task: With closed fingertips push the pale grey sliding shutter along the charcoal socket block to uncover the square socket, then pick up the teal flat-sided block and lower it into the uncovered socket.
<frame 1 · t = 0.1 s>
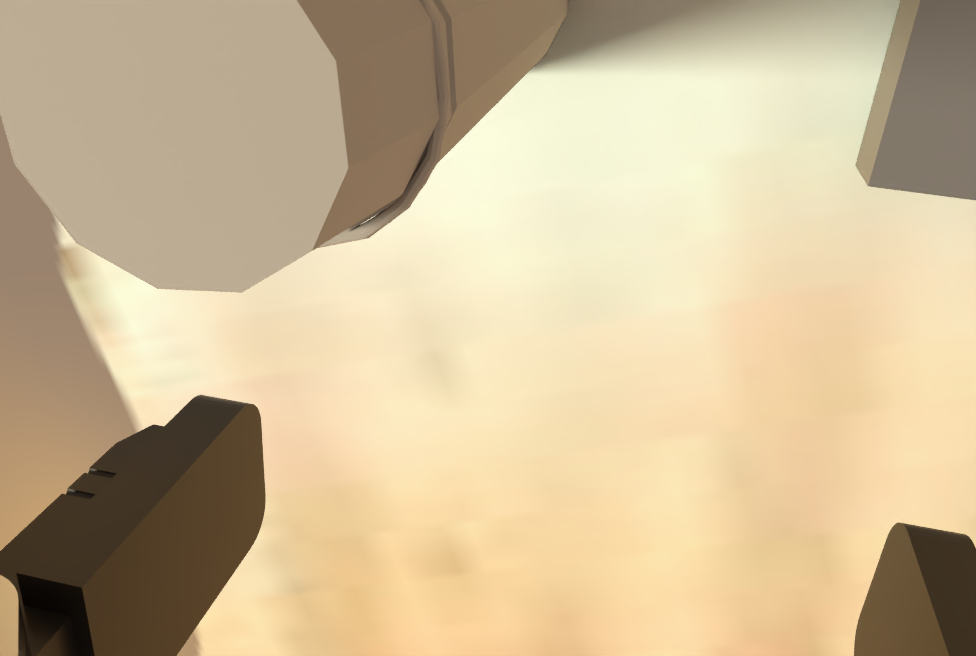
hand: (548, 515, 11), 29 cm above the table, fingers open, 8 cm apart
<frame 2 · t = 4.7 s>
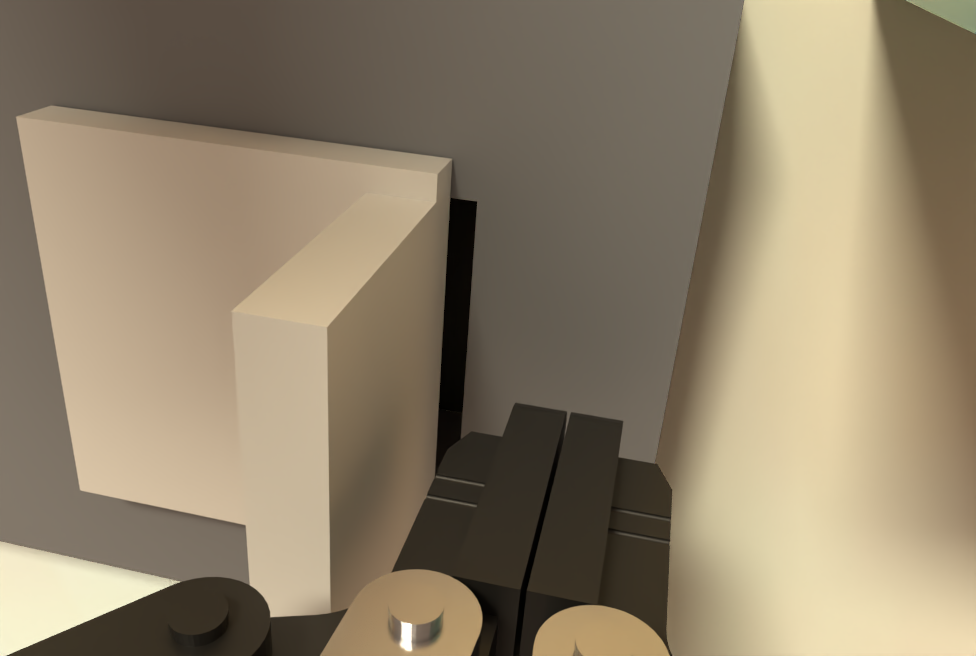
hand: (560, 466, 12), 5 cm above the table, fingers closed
socket block: (220, 250, 18), on the table
shutter: (179, 406, 12), point 5 cm above the table, slide at 0.8 cm, touching gripper
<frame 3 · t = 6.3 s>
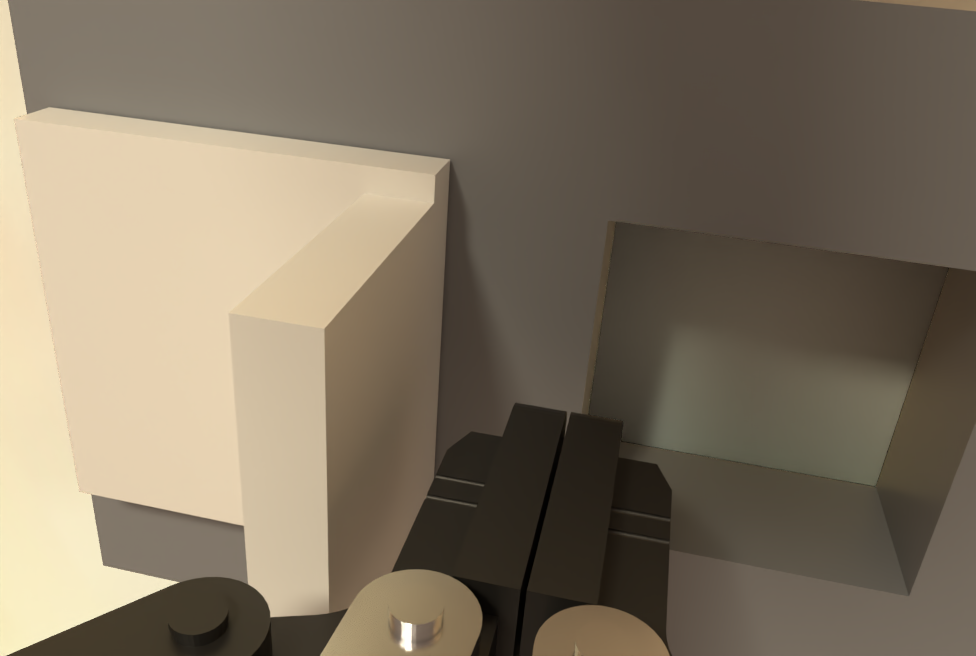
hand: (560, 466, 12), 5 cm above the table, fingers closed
socket block: (592, 308, 16), on the table
shutter: (178, 408, 12), point 5 cm above the table, slide at 8.3 cm, touching gripper
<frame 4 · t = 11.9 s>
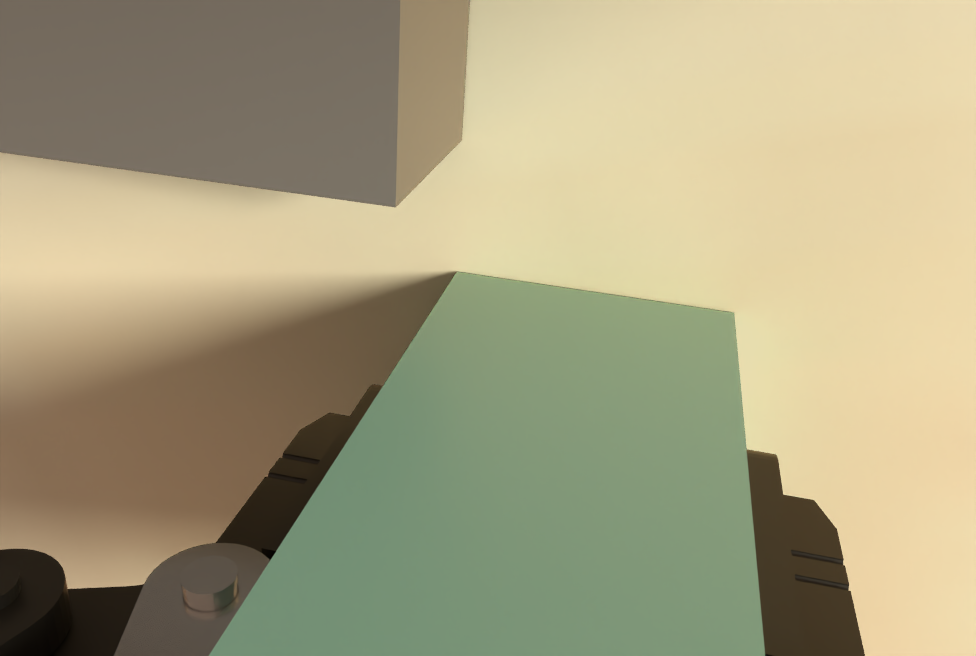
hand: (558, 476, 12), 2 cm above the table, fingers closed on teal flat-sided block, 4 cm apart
teal flat-sided block: (576, 409, 13), on the table, touching gripper
when the fingers open (4 cm above the table, at t = 17.9 s): teal flat-sided block drops 2 cm, resting in socket block.
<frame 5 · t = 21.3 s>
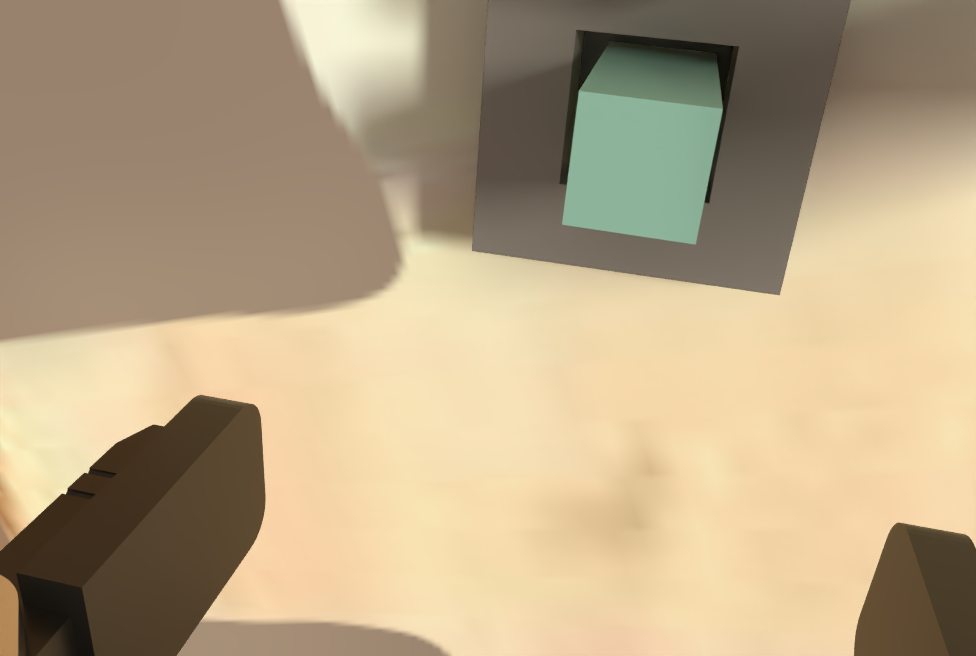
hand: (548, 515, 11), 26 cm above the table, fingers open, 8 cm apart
teal flat-sided block: (653, 100, 34), resting in socket block
socket block: (660, 21, 33), on the table
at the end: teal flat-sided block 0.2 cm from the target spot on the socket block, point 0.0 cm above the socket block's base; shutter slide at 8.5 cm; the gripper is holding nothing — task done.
